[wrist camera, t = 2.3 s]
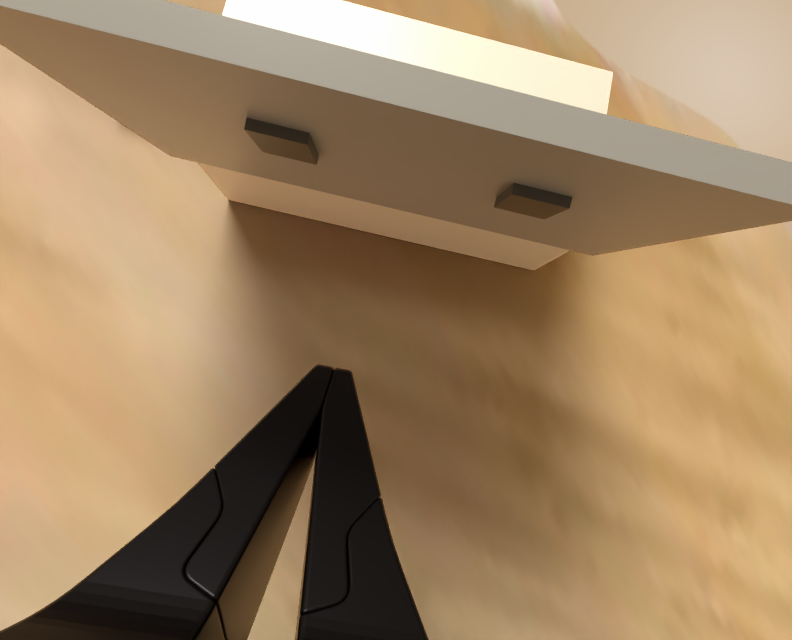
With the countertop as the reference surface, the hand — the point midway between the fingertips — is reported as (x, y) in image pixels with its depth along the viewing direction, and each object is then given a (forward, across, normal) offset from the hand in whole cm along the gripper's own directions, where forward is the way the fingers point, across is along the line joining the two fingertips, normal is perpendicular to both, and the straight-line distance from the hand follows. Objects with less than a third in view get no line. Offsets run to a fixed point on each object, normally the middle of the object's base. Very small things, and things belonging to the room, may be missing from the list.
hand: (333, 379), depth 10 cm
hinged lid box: (+17, +3, 0) cm, 18 cm away
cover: (+6, 0, -4) cm, 7 cm away
